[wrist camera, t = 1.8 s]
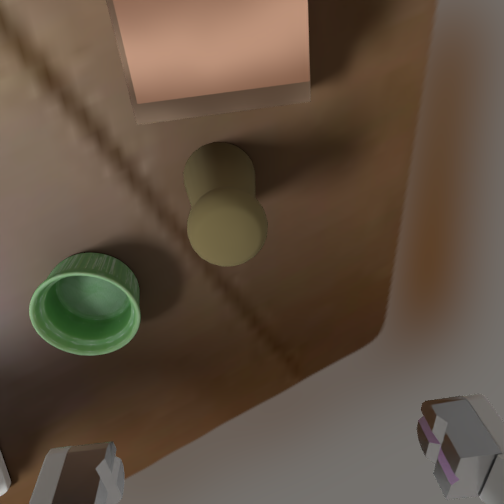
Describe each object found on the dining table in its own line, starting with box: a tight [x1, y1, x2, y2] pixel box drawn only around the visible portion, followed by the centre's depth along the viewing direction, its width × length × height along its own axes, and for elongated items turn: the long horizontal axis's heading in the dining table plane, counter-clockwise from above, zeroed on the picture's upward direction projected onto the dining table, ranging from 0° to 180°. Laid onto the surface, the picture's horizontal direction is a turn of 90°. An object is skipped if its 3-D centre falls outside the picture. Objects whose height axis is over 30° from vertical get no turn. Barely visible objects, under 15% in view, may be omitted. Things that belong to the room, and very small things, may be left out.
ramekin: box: [29, 253, 141, 356], centre depth 37 cm, size 9×9×4 cm
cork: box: [183, 142, 268, 267], centre depth 30 cm, size 6×6×11 cm
